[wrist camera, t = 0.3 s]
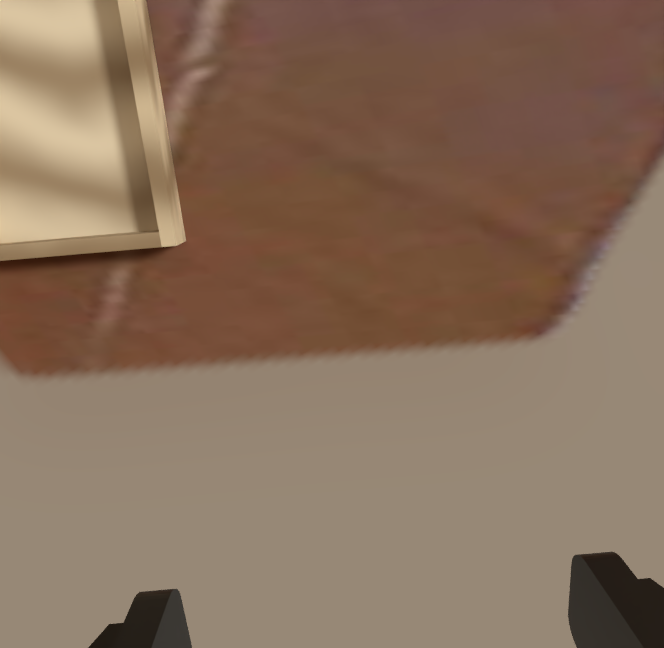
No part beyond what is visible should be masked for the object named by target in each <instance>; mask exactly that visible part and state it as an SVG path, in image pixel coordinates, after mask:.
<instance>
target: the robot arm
mask: <svg viewBox="0 0 664 648" xmlns="http://www.w3.org/2000/svg"><path fill="white" fill-rule="evenodd" d="M568 617H569V624H570V629H571V633H572V636H573V639H574V641H575V644H576V647H577V648H664V588H663V587H662V586H660V585H659V584H657V583H656V582H655V581H653V580H652V579H651V578H647V579H637V578H636V576H635V575H634V574H633V573H632V571H631V570H630V569H629V567H628V566H627V565H626V563H625V562H624V561H623V560H622V558H621V557H620V556H619V555H617V554H616V553H614V552H605V553H604V552H603V553H593V554H581V555H575V556H574V557H573V559H572V566H571V580H570V595H569V609H568ZM89 648H192V645H191V641H190V636H189V631H188V627H187V623H186V618H185V614H184V610H183V604H182V600H181V596H180V593H179V591H178V590H177V589H168V590H158V591H146V592H139V593H138V594H137V595H136V597H135V598H134V600H133V602H132V605H131V607H130V609H129V612H128V614H127V616H126V619H125V621H124V623H117V624H109V625H108V626H107V627H106V628H105V630H104V631H103V632H102V633H101V634H100V635H99V636H98V638H97V639H96V640H95V641H94V642H93V643H92V644H91V645H90V647H89Z"/></svg>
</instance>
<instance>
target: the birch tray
mask: <svg viewBox="0 0 664 648" xmlns="http://www.w3.org/2000/svg"><path fill="white" fill-rule="evenodd" d="M185 241H186V238H185V232H184V226H183V220H182V214H181V208H180V202H179V196H178V190H177V184H176V177H175V171H174V165H173V159H172V153H171V147H170V141H169V135H168V129H167V123H166V117H165V111H164V105H163V99H162V93H161V87H160V81H159V75H158V69H157V63H156V57H155V51H154V44H153V38H152V32H151V26H150V20H149V14H148V8H147V2H146V0H0V261H5V260H16V259H28V258H40V257H51V256H63V255H75V254H86V253H98V252H110V251H121V250H133V249H145V248H157V247H168V246H177V245H179V244H181V243H183V242H185Z"/></svg>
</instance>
